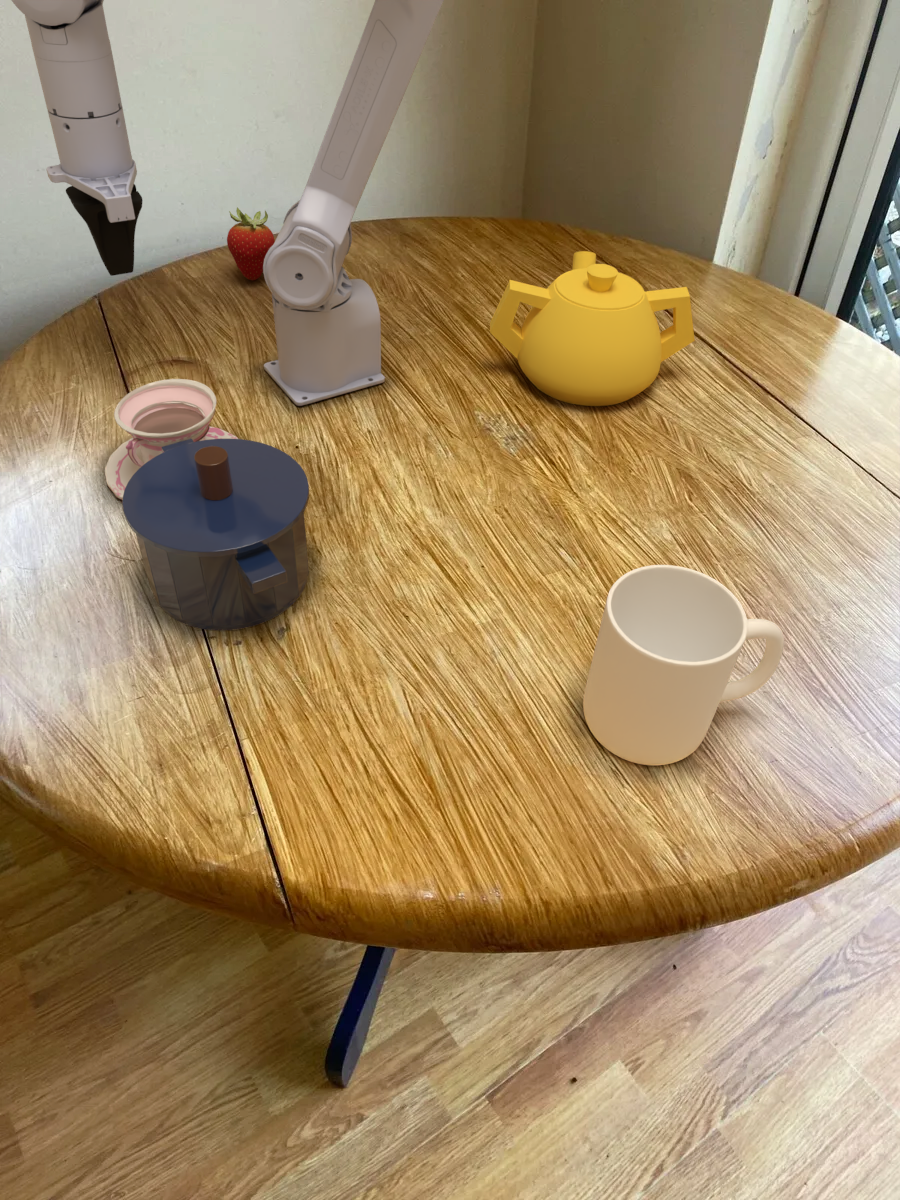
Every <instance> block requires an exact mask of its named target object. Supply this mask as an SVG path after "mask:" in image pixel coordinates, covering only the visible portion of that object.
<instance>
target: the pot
mask: <svg viewBox="0 0 900 1200" xmlns="http://www.w3.org/2000/svg"><path fill="white" fill-rule="evenodd" d="M192 442H194V441H193V440H192V439H187V440H184V441H180V442H177V443H173V444H170V445H166V446H163V447H161V448H162V453H163V452H165V451H168V450H170V449H172V448H175V447H178V446H181V445H184V444H188V443H192ZM306 533H307V531H306V521H305V512H304V513H303V515H302V516H301V518H300V519H299V520H298V521H297V523H296V524H295V525H294V526H293V527H292V528H291V529H289V530H288V531H287V532H286V533H285V534H283V535H282V536H280V537H278V538H277V539H275V540H273V541H271V542H269V543H268V544H266V545H263V546H261V547H258V548H256V549H253V550H249V551H246V552H243V553H238V554H233V555H227V556H218V557H193V556H185V555H179V554H174V553H170V552H167V551H164V550H161V549H159V548H156V547H154V546H152V545H150V544H148V543H147V542H145V541H144V540H143V539H141V538H140V537H139V536H138V535H137V534H136V533H135V536H136V540H137V544H138V549H139V552H140V555H141V559H142V563H143V567H144V571H145V574H146V579H147V582H148V586H149V588H150V590H151V593H152V595H153V598H154V601H155V602H156V603H157V605H158V606H159V608H160V609H161V610H162V611H163V612H164V613H165V614H166V615H168V616H169V617H170V618H172V619H174V620H175V621H177V622H179V623H181V624H183V625H186V626H188V627H192V628H196V629H200V630H206V631H219V632H220V631H222V632H223V631H236V630H243V629H247V628H253V627H255V626H259V625H262V624H264V623H266V622H268V621H271V620H272V619H273V620H274V618H276V617H278V616H280V615H281V614H283V613H284V612H286V611H287V610H289V609H290V607H292V606H293V605H294V604H295V603H296V602H297V600H298V599H299V598H300V597H301V595H302V594H303V592H304V590H305V588H306V585H308V584H307V583H308V580H309V576H310V567H309V557H308V545H307V534H306Z"/></svg>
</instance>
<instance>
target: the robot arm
mask: <svg viewBox="0 0 900 1200" xmlns="http://www.w3.org/2000/svg"><path fill="white" fill-rule="evenodd" d="M444 1H445V0H374V2H373V5H372V7H371V10H370V13H369V16H368V19H367V21H366V24H365V26H364V29H363V32H362V35H361V37H360V40H359V42H358V45H357V48H356V51H355V53H354V56H353V59H352V61H351V63H350V66H349V69H348V72H347V74H346V77H345V79H344V82H343V85H342V88H341V90H340V93H339V96H338V99H337V102H336V104H335V107H334V110H333V112H332V115H331V117H330V121H329V123H328V126H327V129H326V131H325V133H324V136H323V139H322V142H321V144H320V147H319V150H318V152H317V155H316V157H315V160H314V163H313V166H312V168H311V171H310V173H309V176H308V179H307V182H306V183H305V187H304V189H303V192H302V194H301V197H300V198H299V200H297V202H295V203H293V205H291V207H290V208H289V209H288V210H287V213H286V214H285V216H284V219H283V222H282V223H283V224H282V226H281V228H280V230H279V232H278V234H277V236H276V238H275V239H274V240H275V242H274V244H273V245H272V246H271V247H270V248H269V250H268V252H267V254H266V256H265V259H264V264H263V273H262V274H263V277H264V281H265V284H266V286H267V289H269V291H270V292H271V299H272V300H271V301H272V310H273V321H274V332H275V341H276V353H277V359H275V360H271V361H268V362H265V363H264V364H263V370H264V371H265V372H266V373H267V374H268V375H269V376H270V377H271V378H272V380H273V381H274V382H275V383H276V384H277V385H278V386H279V387H280V389H281V390H282V391H283V392H284V394H286V396H288V398H289V399H290V400H291V401H292V402H293V404H294V405H296V406H298V407H303V406H306V405H309V404H313V403H316V402H320V401H323V400H327V399H331V398H334V397H338V396H341V395H344V394H348V393H351V392H355V391H358V390H361V389H362V390H363V389H365V388H370V387H372V386H376V385H380V384H383V383H384V382H385V381H386V376H384V375H383V373H382V323H381V322H382V319H381V312H380V308H379V304H378V300H377V297H376V295H375V293H374V291H373V289H372V288H371V285H369V283H367V281H365V280H364V279H362V278H351V279H350V277H349V274H348V273H347V271H346V269H345V267H343V264H344V262H345V259H346V256H347V255H348V254H349V252H350V249H351V247H352V242H353V231H352V220H353V218H354V216H355V213H356V210H357V208H358V205H359V203H360V201H361V198H362V196H363V193H364V192H365V189H366V187H367V185H368V182H369V179H370V177H371V174H372V172H373V170H374V168H375V166H376V162H377V160H378V158H379V155H380V153H381V151H382V149H383V145H384V144H385V141H386V139H387V137H388V134H389V132H390V129H391V127H392V125H393V122H394V120H395V117H396V115H397V112H398V110H399V108H400V106H401V103H402V101H403V98H404V96H405V95H406V92H407V89H408V86H409V84H410V81H411V79H412V77H413V75H414V72H415V70H416V68H417V66H418V62H419V60H420V59H421V56H422V54H423V51H424V49H425V46H426V44H427V41H428V39H429V37H430V35H431V32H432V29H433V27H434V25H435V22H436V21H437V18H438V15H439V13H440V11H441V8H442V6H443V5H444V4H443V3H444ZM11 2H12V3H13V4H14V6H15V7H16V8H17V9H18V10H19V11H20V12H21V13H22V14H23V15H24V18H25V22H26V26H27V30H28V35H29V38H30V43H31V48H32V52H33V56H34V61H35V64H36V68H37V73H38V76H39V81H40V85H41V89H42V94H43V98H44V102H45V107H46V109H47V114H48V118H49V122H50V125H51V130H52V134H53V138H54V143H55V148H56V151H57V155H58V159H59V163H58V164H55V165H49V166H47V167H46V168H45V169H46V173H47V177H48V179H49V180H50V182H52V183H54V184H59V183H66V184H67V185H69V186H68V187H66V188H65V193H66V195H67V197H68V199H69V200H70V202H71V204H72V206H73V208H74V209H75V211H76V212H77V213H78V214H79V216H80V217H81V219H83V221H84V223H85V224H86V225H87V228H88V230H89V232H90V234H91V237H92V240H93V242H94V244H95V248H96V249H97V252H98V254H99V257H100V259H101V261H102V263H103V265H104V267H105V269H106V270H107V272H108V274H109V275H110V276H111V277H112V276H120V275H125V274H131V273H133V272H134V268H135V236H136V228H137V222H138V219H139V216H140V213H141V210H142V208H143V197H142V194H140V192H139V191H138V190H137V185H136V184H135V181H136V177H137V175H138V169H137V163H136V161H135V160H134V159H133V155H132V151H131V146H130V141H129V135H128V129H127V125H126V124H127V123H126V119H125V112H124V109H123V103H122V98H121V92H120V87H119V82H118V77H117V72H116V67H115V66H116V65H115V61H114V54H113V51H112V44H111V41H110V37H109V32H108V27H107V22H106V21H107V19H106V16H105V15H106V14H105V11H104V5H103V4H104V2H105V0H11Z"/></svg>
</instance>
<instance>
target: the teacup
mask: <svg viewBox="0 0 900 1200" xmlns="http://www.w3.org/2000/svg"><path fill="white" fill-rule="evenodd" d="M216 407H217V397H216V394H215V393H214V391H213V390H212V388H210V387H209V386H208V385H206V384H205V383H203V382H200V381H197V380H192V379H187V378H168V379H162V380H157V381H153V382H148V383H146V384H144V385H141V386H138V387H136V388H135V389H133V390H131V391H130V392H128V393H127V394H125V395H124V396H123V397H122V398H121V399H120V400H119V401H118V403H117V404H116V406H115V408H114V412H113V418H114V421H115V423H116V424H117V426H118V427H120V428H121V429H122V430H123V431H125V432H126V433H128V434H129V435H130V436H131V437H130V438H129V439H127V440H126V441H124V442H122V443H121V444H120V445H119V446H118V447H117V448H116V449H115V450H114V451H113V452H112V453H111V454H110V455H109V458H108V460H107V462H106V464H105V468H104V474H105V480H106V485H107V487H108V488H109V490H111V492H112V493H113V495H114V496H115V497H116V498H118V499H119V500H121V501H123V494H124V490H125V488H126V486H127V483H128V482H129V480H130V479H131V477H132V476H133V475H134V474H135V472H136V471H137V470H138V469H139V468H140V467H142V466H143V465H144V464H145V463H146V462H148V461H149V460H151V459H152V458H154V457H156V456H158V455H159V454H161V453H162V448H161V447H163V446H166V445H170V444H173V443H177V442H180V441H184V440H187V439H192V440H193V441H194V442H197V441H203V440H210V439H239V437H237V436H236V435H234V434H233V433H230V432H228V431H227V430H225V429H223V428H220V427H214V426H210V423H212V421H213V419H214V417H215V414H216Z"/></svg>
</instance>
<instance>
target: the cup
mask: <svg viewBox="0 0 900 1200" xmlns="http://www.w3.org/2000/svg"><path fill="white" fill-rule="evenodd" d="M761 639H763V640H764V639H765V647H764V652H763V654H762V655H763V656H762V658H761V660H760V661H759V663H758V665H757V666H756V667H755V668H754V669H753V670H752V671H751V673H749V674H748V675H746V676H744V677H742V678H740V679H737V680H733V681H729V680H730V678H731V676H732V673H733V670H734V668H735V666H736V664H737V661H738V659H739V656H740V654H741V651H742V649H743V647H744V644H745V642H746V641H750V640H761ZM784 648H785V637H784V633H783V630H782V629H781V627H780V626H779V625H778V624H777V623H775V622H774V621H772V620H769V619H765V618H747V614H746V612H745V609H744V607H743V605H742V603H741V602H740V601H739V598H737V596H736V595H735V594H734V593H733V592H732V591H731V590H730V589H729V588H727V587H726V586H725V585H724V584H722V582H720V581H718V580H717V579H715V578H713V577H711V576H710V575H708V574H706V573H703V572H701V571H698V570H695V569H692V568H688V567H684V566H679V565H672V564H651V565H645V566H641V567H638V568H634V569H632V570H630V571H627V572H625V573H624V574H623V575H621V576H620V577H619V578H618V579H616V581H614V583H613V584H612V586H611V587H610V589H609V590H608V593H607V597H606V601H605V605H604V609H603V613H602V618H601V621H600V626H599V630H598V633H597V639H596V642H595V646H594V651H593V655H592V659H591V663H590V667H589V670H588V675H587V679H586V680H587V681H586V684H585V688H584V693H583V699H582V700H583V701H582V702H583V703H582V706H583V707H582V710H583V715H584V720H585V722H586V725H587V727H588V729H589V730H590V732H591V734H592V735H593V737H594V739H596V741H598V743H600V745H602V746H603V747H604V748H605V749H606V750H607V751H608V752H610V753H612V754H613V755H615V756H617V757H619V758H620V759H622V760H625V761H628V762H630V763H633V764H638V765H644V766H663V765H664V766H665V765H669V764H673V763H677V762H679V761H681V760H684V759H685V758H687V757H689V756H690V755H692V754H693V753H694V752H695V751H697V749H698V748H699V747H700V745H701V744H702V742H703V741H704V739H705V737H706V736H707V734H708V732H709V729H710V727H711V725H712V722H713V719H714V717H715V714H716V712H717V709H718V707H719V705H720V703H724V702H725V703H726V702H729V701H734V700H735V701H736V700H739V699H743V698H745V697H747V696H749V695H751V694H753V693H755V692H756V691H758V690H760V689H761V688H762V687H763V686H765V685H766V684H767V682H769V680H770V679H771V678H772V676H773V675H774V674H775V672H776V670H777V669H778V667H779V664H780V662H781V659H782V656H783V653H784Z"/></svg>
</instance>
